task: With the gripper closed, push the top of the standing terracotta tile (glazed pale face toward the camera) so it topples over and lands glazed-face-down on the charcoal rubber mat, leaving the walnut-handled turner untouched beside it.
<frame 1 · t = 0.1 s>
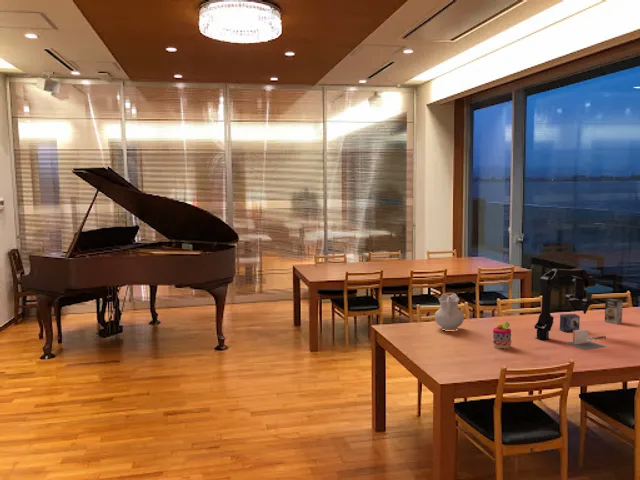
hand: (579, 312, 339), 15 cm above the table, fingers open, 9 cm apart
mat: (585, 345, 318), on the table
cake: (502, 347, 320), on the table
ceramic pitcher: (449, 330, 362), on the table
small box: (569, 331, 351), on the table
tile: (580, 342, 321), resting on mat
turner: (594, 339, 330), on the table
coffee box: (613, 322, 368), on the table
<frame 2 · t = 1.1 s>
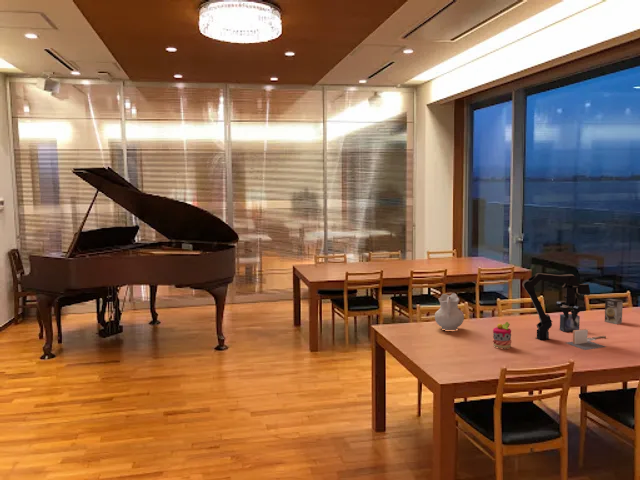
hand: (570, 319, 328), 13 cm above the table, fingers open, 5 cm apart
nothing on the table moved.
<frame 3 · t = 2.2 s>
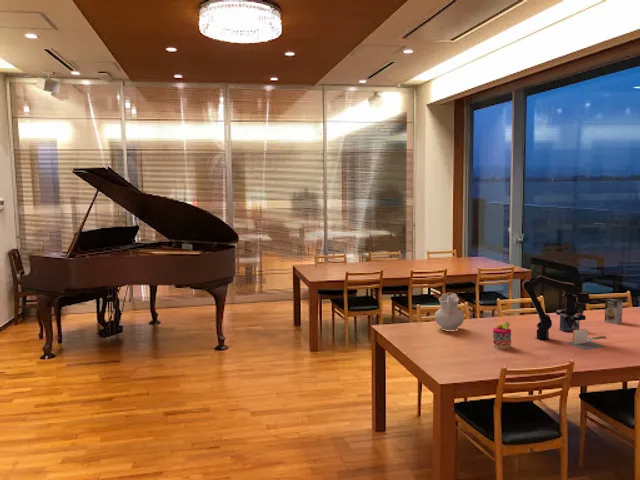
hand: (570, 328, 328), 8 cm above the table, fingers closed
nothing on the table moved.
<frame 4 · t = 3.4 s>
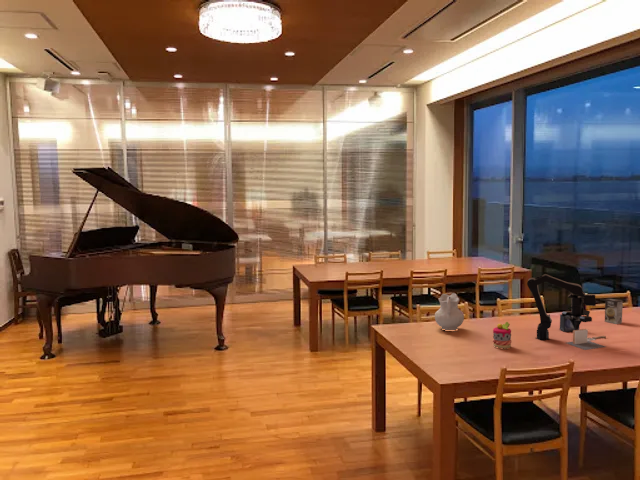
hand: (576, 330, 324), 8 cm above the table, fingers closed
nothing on the table moved.
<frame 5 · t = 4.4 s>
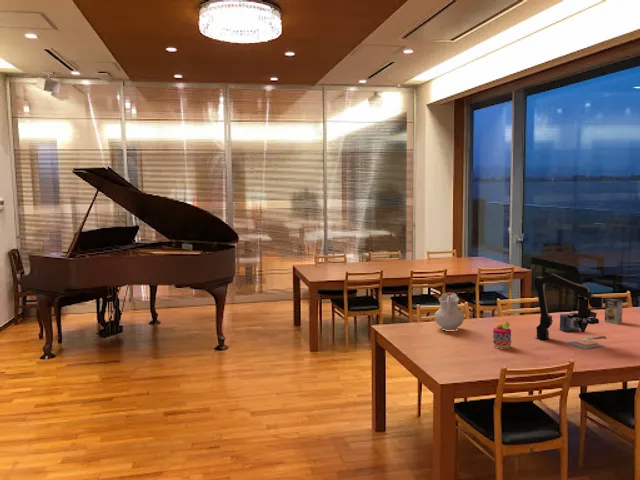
hand: (582, 332, 319), 8 cm above the table, fingers closed
tile: (581, 341, 320), point 1 cm above the table, tilted 90°, touching mat
everything else where it was.
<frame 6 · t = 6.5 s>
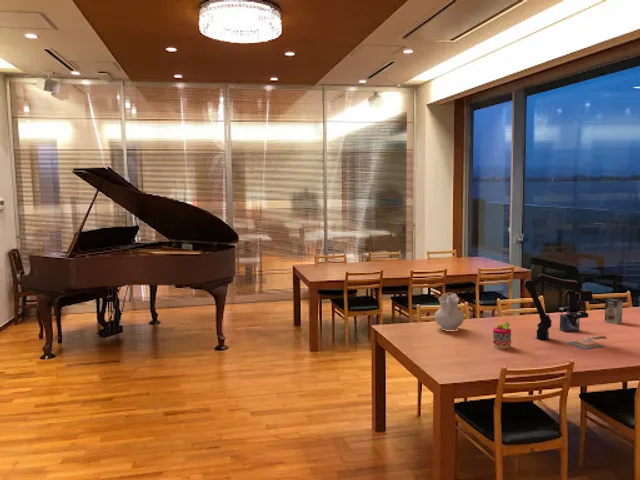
hand: (573, 326, 326), 9 cm above the table, fingers closed
nothing on the table moved.
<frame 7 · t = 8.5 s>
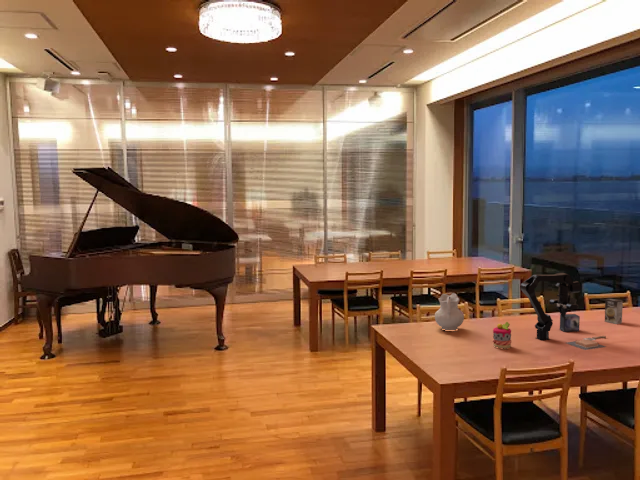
hand: (563, 317, 334), 13 cm above the table, fingers closed
nothing on the table moved.
at the end: tile tilted 90°; tile inside the target area (3.4 cm from its centre), point 1.5 cm above the table; turner moved 0.1 cm from its start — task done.
